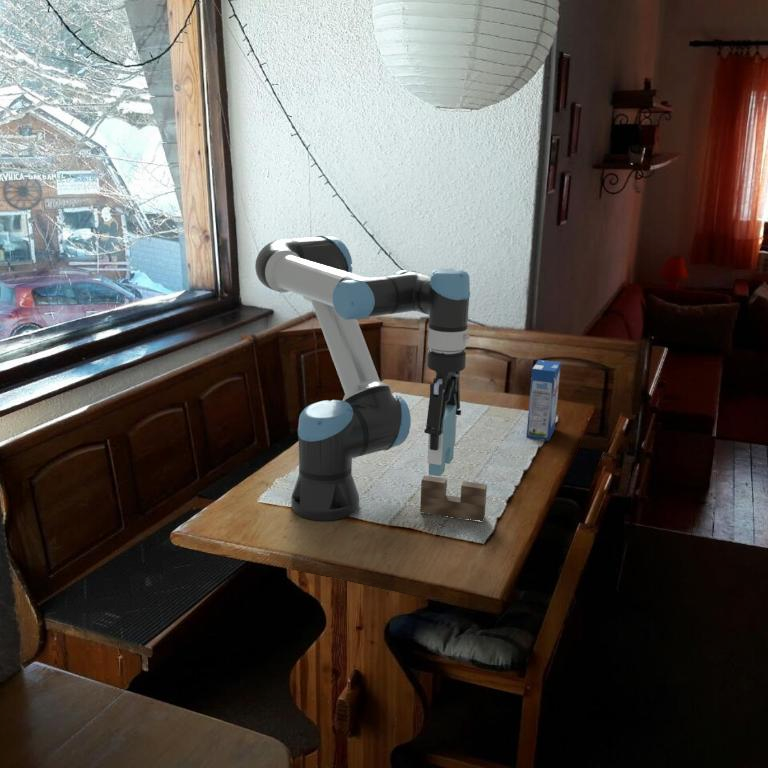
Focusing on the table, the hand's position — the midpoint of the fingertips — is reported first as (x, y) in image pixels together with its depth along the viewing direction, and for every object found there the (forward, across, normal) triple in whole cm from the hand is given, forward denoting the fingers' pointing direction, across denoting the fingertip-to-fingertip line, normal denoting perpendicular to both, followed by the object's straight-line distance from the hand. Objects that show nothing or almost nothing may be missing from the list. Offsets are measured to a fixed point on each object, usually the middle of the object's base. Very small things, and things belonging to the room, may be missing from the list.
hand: (441, 453), depth 164 cm
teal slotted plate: (+3, 0, 0) cm, 3 cm away
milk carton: (+18, +67, -11) cm, 70 cm away
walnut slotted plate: (+18, +8, -1) cm, 20 cm away
